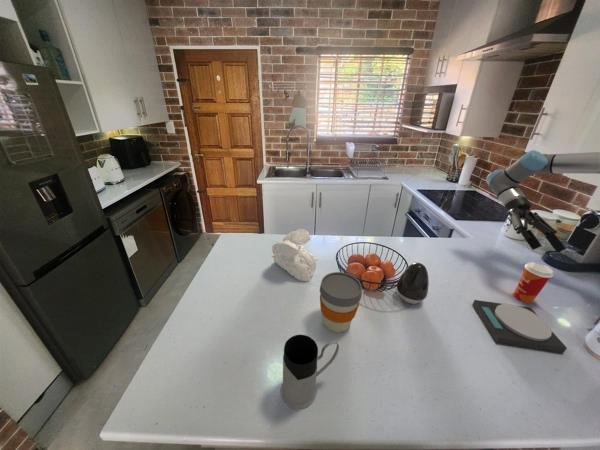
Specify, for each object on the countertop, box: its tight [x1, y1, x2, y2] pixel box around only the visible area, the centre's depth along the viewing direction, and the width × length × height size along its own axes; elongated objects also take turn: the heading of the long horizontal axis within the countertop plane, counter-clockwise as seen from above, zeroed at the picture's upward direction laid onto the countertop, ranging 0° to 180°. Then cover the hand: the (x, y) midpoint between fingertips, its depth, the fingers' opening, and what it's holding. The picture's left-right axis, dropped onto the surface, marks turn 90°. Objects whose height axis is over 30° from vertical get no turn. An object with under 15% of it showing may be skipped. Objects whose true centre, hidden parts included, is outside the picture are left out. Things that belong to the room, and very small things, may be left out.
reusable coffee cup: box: [319, 271, 363, 333], centre depth 77 cm, size 13×13×15 cm
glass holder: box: [280, 334, 340, 411], centre depth 58 cm, size 9×14×15 cm, turn 112°
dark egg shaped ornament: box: [396, 262, 430, 305], centre depth 87 cm, size 10×10×15 cm
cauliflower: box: [271, 228, 318, 282], centre depth 102 cm, size 19×20×20 cm
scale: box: [472, 299, 568, 354], centre depth 80 cm, size 18×16×4 cm
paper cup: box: [513, 261, 554, 304], centre depth 90 cm, size 8×8×14 cm
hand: (549, 249), depth 86 cm, fingers open, 13 cm apart
